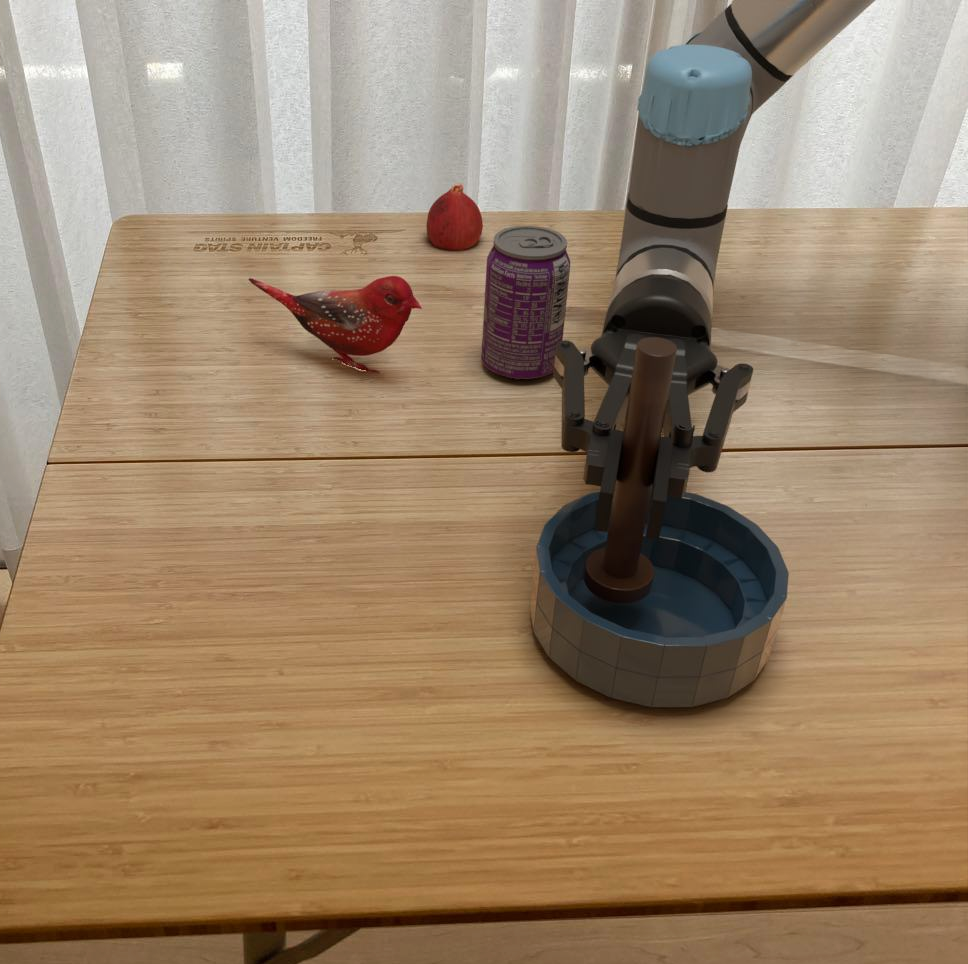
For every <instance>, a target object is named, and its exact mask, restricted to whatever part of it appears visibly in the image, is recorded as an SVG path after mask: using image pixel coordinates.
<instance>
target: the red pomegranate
mask: <svg viewBox="0 0 968 964" xmlns="http://www.w3.org/2000/svg"><path fill="white" fill-rule="evenodd" d="M483 228H484V224H483V217H482V213H481V210H480V208H479V206H478V205H477V203H476V202H475V201H474V200H473V199H472V198H471V197H470V196H469V195H467V194H466V193H464V186H463V184H462V183H461V182H460V183H454V185H452V186H451V188H450V189H449V190H448V191H446V192H445V193H443V194H442V195H440V196H439V197H438V198H437V199H436V200H435V201H434V202H433V203H432V205H431V206H430V207H429V210H428V213H427V219H426V235H427V237H428V239H429V241H430V242H431V244H432V245H433V246H434V247H436V248H439V249H442V250H446V251H463V250H468V249H471V248H472V247H474V246H475V245H476V244H477V243H478V241H479V239H480V238H481V236H482V233H483Z"/></svg>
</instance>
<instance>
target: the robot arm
mask: <svg viewBox="0 0 968 964" xmlns="http://www.w3.org/2000/svg"><path fill="white" fill-rule="evenodd" d="M875 2H876V0H731V3H730V4H729V5H728V6H727V7H726V8H725V9H724V10H722V11H721V12H720V13H718V15H717V16H716V17H715V18H714V19H713V20H712V21H711V22H709V24H708V25H707V26H706V27H705V28H704V29H702V30H701V31H699V32H696V33H695V34H694V35H692V36H691V37H690V38H689V39H688V40H687V41H686V43H684V44H678V45H673V46H669V47H668V48H664V49H660V50H658V51H656V52H655V53H654V54H653V55H652V56H651V57H650V58H649V60H648V61H647V64H646V68H645V73H644V78H643V84H642V90H641V93H640V95H639V97H638V99H637V106H636V110H637V111H638V115H637V122H636V123H637V124H636V131H635V140H634V146H633V147H634V148H633V155H632V164H631V173H630V181H629V187H628V188H629V189H628V192H627V199H626V205H625V210H624V211H625V212H624V218H623V225H622V232H621V233H622V234H621V239H620V248H619V253H618V254H619V255H618V261H617V266H616V272H615V278H614V280H613V284H612V286H611V289H610V290H611V291H610V296H609V301H608V305H607V309H606V314H605V317H604V322H603V326H602V330H601V331H602V332H601V336H600V337H597V338H596V339H594V340H593V342H592V344H590V345H591V346H590V347H589V348H588V347H587V348H578V347H577V346H576V345H575V344H574V343H573V341H570V340H567V339H563V340H562V341H559V342H557V344H556V354H555V363H554V371H553V372H552V373H553V374H552V376H553V378H554V380H555V381H556V382H557V384H558V385H559V387H560V389H561V434H560V435H561V436H560V437H561V439H560V441H561V444H560V445H561V449H562V450H563V451H564V452H565V451H566V452H567V453H568V452H569V453H576V452H579V451H580V450H582V451H583V452H585V453H586V457H585V461H584V462H585V464H584V471H583V472H584V473H583V477H582V478H583V479H582V480H583V482H584V484H585V485H587V486H594V487H600V488H599V491H600V494H599V501H598V507H597V514H596V521H595V528H594V530H596V531H603V532H608V526H609V520H610V514H611V508H612V503H613V497H614V491H615V485H616V479H617V473H618V466H619V460H620V453H621V447H622V438H623V431H624V430H621V428H622V425H623V423H624V421H625V418H626V412H627V405H628V399H629V392H630V386H631V379H632V373H633V366H634V360H635V354H636V347H637V343H638V342H639V341H640V340H641V339H644V338H648V337H659V338H664V339H667V340H669V341H671V342H673V343H674V344H675V345H676V347H677V352H676V358H675V363H674V369H673V375H672V380H671V386H670V391H669V397H668V402H667V408H666V413H665V419H664V424H663V430H662V434H663V435H662V436H661V441H660V446H659V450H658V456H657V461H656V467H655V473H654V478H653V484H652V491H651V499H650V507H649V515H648V523H647V531H646V538H648V539H654V540H659V538H660V533H661V528H662V522H663V517H664V512H665V507H666V501H667V497H671V498H678V499H682V497H683V496H684V495H685V493H686V492H687V487H688V483H689V477H690V469H692V468H694V467H695V468H696V467H697V469H698V470H699V471H700V472H703V473H704V472H705V473H714V472H716V470H717V468H718V465H719V462H720V459H721V455H722V452H723V447H724V444H725V442H726V438H727V434H728V432H729V428H730V424H731V422H732V421H731V420H732V417H733V415H734V413H735V412H736V411H737V410H738V409H740V408H741V407H742V406H743V405H744V404H746V403H747V400H748V394H749V391H750V386H751V382H752V378H753V373H754V367H753V366H752V365H750V364H748V363H737V364H735V365H734V366H733V367H730V368H728V367H724V366H721V365H719V364H718V358H717V355H715V353H714V352H713V351H712V350H711V347H712V346H711V343H712V329H713V318H714V317H713V315H714V314H713V313H714V296H715V295H714V294H715V289H714V288H715V279H716V271H717V264H718V258H719V254H720V248H721V243H722V238H723V233H724V228H725V223H726V219H727V212H728V207H729V199H730V194H731V190H732V185H733V181H734V175H735V171H736V168H737V167H736V166H737V162H738V157H739V152H740V149H741V145H742V142H743V140H744V137H745V134H746V131H747V128H748V126H749V123H750V120H751V118H752V116H753V114H755V113H756V111H758V109H760V108H761V107H762V106H763V105H765V103H766V102H767V101H768V100H770V99H771V98H772V97H773V96H774V95H775V94H776V93H777V92H778V91H779V90H780V89H782V87H784V85H786V83H788V82H789V80H790V79H792V78H793V77H794V75H795V74H796V73H797V72H798V71H800V70H801V69H802V68H803V67H804V66H805V65H806V64H807V63H808V62H810V61H811V60H812V59H813V58H814V57H815V56H817V54H818V53H820V52H821V50H823V49H824V48H825V47H826V46H828V44H829V43H831V41H833V40H834V39H835V38H836V37H838V35H839V34H840V33H841V32H843V30H845V29H846V28H847V27H848V26H849V25H850V24H851V23H852V22H853V21H855V20H856V19H857V18H858V17H859V16H860V15H861V14H862V13H863V12H865V11H866V10H867V9H868V8H869V7H870V6H872V4H873V3H875ZM590 368H591V370H592V371H593V372H594V373H595V374H596V375H597V376H598V377H600V378H601V380H602V381H604V382H605V383H606V384H607V386H608V387H607V390H606V392H605V394H604V397H603V400H602V401H601V404H600V406H599V408H598V411H597V413H596V415H595V418H594V420H593V421H592V420H589V419H586V417H585V416H586V406H585V404H586V403H585V377H587V376H588V375H589V369H590ZM709 385H712V387H711V392H712V394H714V395H715V396H714V399H713V402H712V404H711V408H710V410H709V414H708V417H707V420H706V423H705V426H704V430H703V432H702V435H694V433H695V430H696V425H695V424H692V416H691V409H690V407H691V406H690V401H689V396H690V395H692V394H694V393H696V392H697V391H700V390H701V389H703V388H706V387H707V386H709Z"/></svg>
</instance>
